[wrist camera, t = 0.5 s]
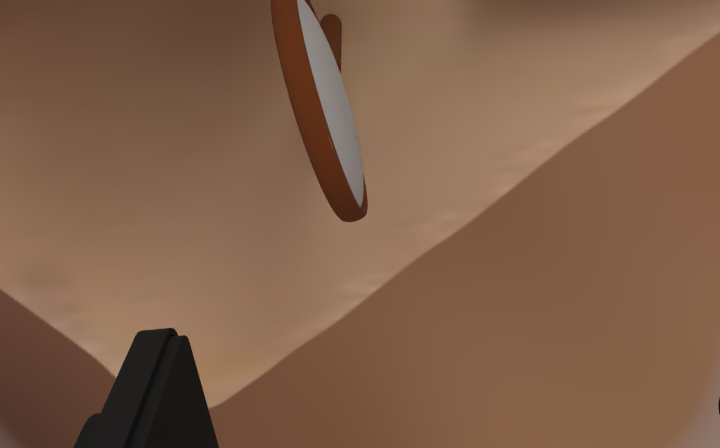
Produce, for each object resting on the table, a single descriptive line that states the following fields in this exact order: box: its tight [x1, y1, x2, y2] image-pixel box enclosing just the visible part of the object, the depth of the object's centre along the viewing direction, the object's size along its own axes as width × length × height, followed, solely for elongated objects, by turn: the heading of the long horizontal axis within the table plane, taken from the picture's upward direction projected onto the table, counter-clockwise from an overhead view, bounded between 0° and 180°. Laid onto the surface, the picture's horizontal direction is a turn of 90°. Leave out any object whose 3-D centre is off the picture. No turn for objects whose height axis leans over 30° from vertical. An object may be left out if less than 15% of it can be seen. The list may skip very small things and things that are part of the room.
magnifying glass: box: [271, 0, 368, 222], centre depth 28 cm, size 9×2×20 cm, turn 16°
